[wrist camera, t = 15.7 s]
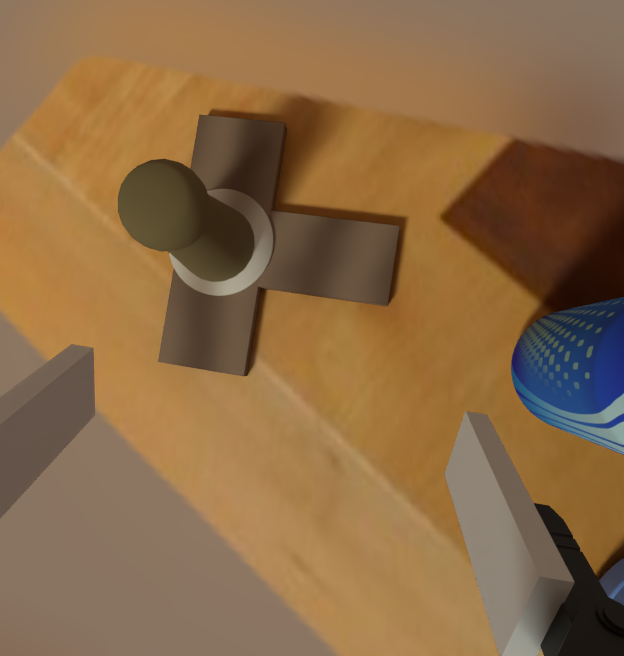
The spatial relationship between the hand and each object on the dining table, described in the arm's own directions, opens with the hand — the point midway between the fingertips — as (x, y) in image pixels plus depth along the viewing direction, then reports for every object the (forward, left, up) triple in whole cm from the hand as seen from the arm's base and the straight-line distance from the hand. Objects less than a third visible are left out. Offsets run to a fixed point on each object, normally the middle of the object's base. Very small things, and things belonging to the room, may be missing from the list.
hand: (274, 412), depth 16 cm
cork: (+13, +1, -19) cm, 23 cm away
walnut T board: (+10, -3, -20) cm, 22 cm away
